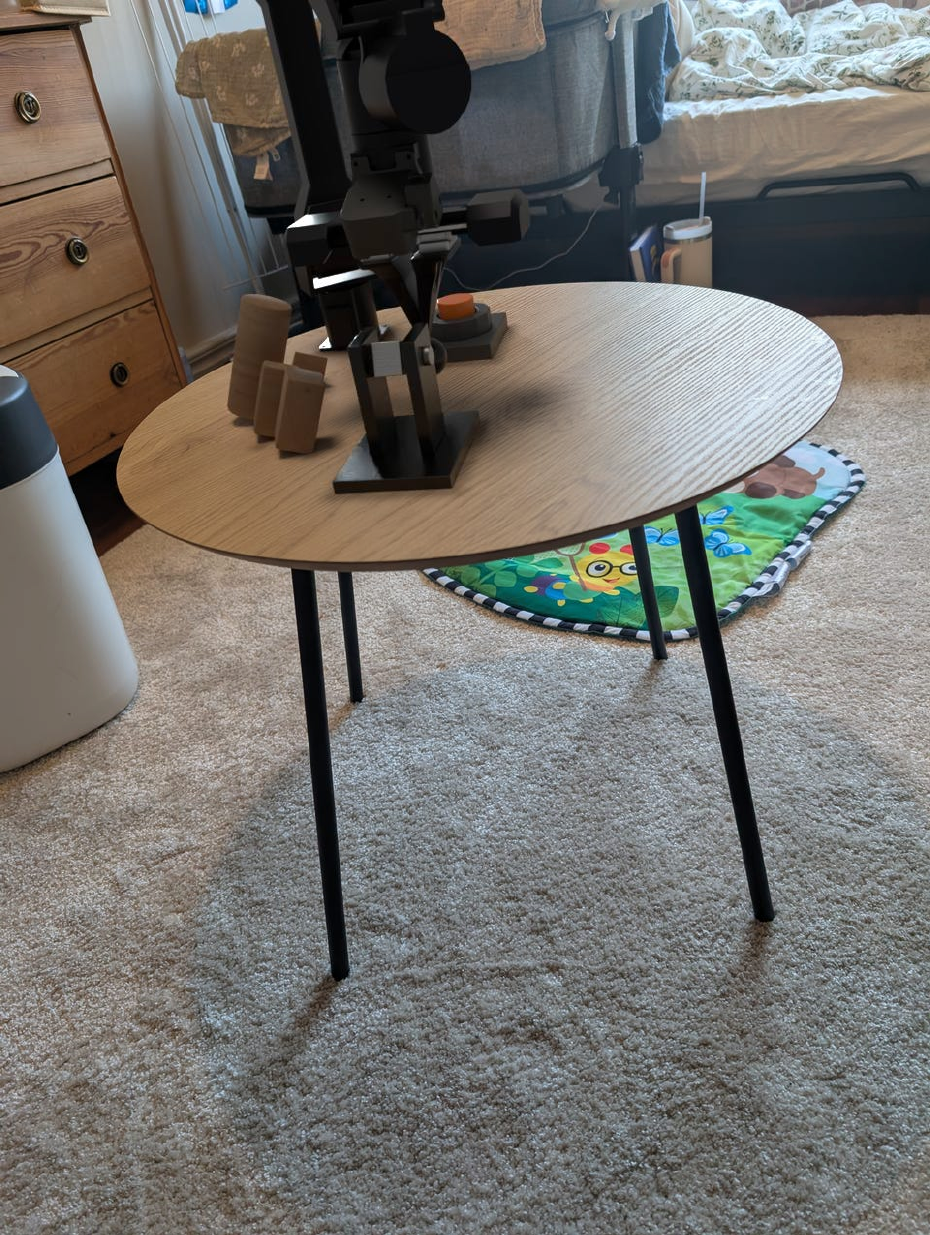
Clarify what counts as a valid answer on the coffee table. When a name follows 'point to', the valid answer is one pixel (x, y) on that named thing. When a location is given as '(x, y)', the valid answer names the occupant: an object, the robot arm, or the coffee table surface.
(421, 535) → the coffee table surface
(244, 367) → the wooden block set
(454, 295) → the button
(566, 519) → the coffee table surface
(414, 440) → the bracket
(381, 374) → the lever
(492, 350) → the switch block
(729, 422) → the coffee table surface
